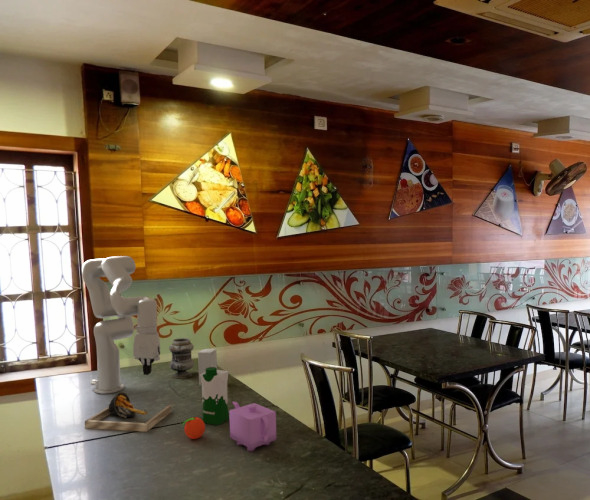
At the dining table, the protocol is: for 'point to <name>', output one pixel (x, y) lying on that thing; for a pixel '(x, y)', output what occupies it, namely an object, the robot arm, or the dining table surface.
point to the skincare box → (206, 361)
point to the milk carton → (214, 396)
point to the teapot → (252, 425)
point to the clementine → (194, 427)
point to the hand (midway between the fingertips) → (147, 373)
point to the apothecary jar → (181, 357)
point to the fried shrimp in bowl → (123, 406)
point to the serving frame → (128, 426)
